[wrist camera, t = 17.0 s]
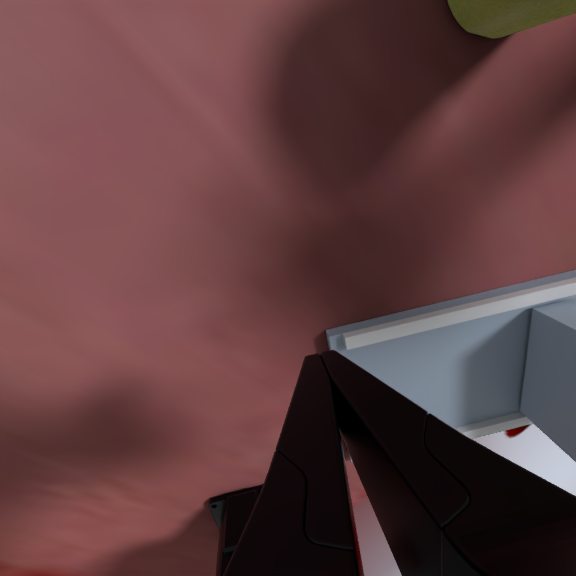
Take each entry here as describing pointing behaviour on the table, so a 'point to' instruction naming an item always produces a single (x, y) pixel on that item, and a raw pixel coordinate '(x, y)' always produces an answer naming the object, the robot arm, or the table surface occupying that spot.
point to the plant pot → (507, 14)
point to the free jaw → (552, 374)
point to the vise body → (457, 352)
